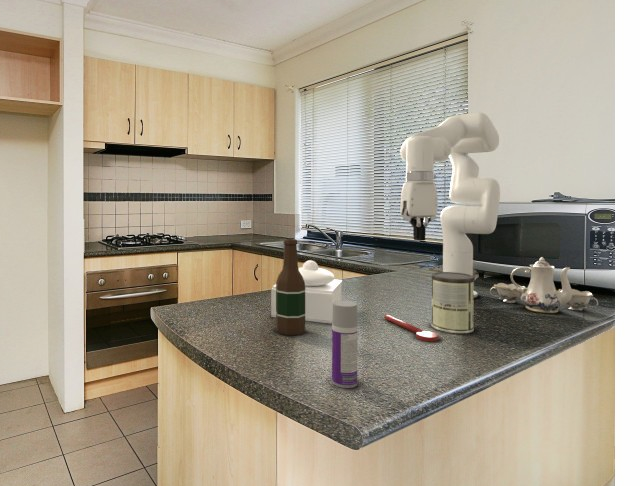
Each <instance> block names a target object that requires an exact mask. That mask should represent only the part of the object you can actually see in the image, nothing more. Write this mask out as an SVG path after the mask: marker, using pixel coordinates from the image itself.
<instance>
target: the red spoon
mask: <svg viewBox="0 0 640 486" xmlns="http://www.w3.org/2000/svg"><path fill="white" fill-rule="evenodd" d="M384 319H385V320H386V321H388V322H391V323H392V324H395V325H397V326H399V327H401V328H404V329H405V330H408V331H410V332H412V333H414V334H415V337H416V339H418V340H421V341H423V342H437V341H439V334H437V333H436V332H432V331H427V330H423V329H421V328H419V327H416V326H414V325H412V324H410V323H408V322H405V321H403V320H400V319H398V318H396V317H394V316H392V315H389V314H385V315H384Z"/></svg>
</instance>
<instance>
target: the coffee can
mask: <svg viewBox="0 0 640 486" xmlns="http://www.w3.org/2000/svg"><path fill="white" fill-rule="evenodd" d="M430 275H431V276H430V277H431V325H430V326H431V327H432V328H433V329H434V330H438V331H440V332H444V333H449V334H460V335H461V334H471V333H473V332H474V329H475V328H474V316H475V315H474V313H475V312H474V311H475V310H474V309H475V308H474V307H475V306H474V305H475V304H474V302H475V301H474V299H475V298H474V291H475V289H474V288H475V286H474V285H475V276H474V275H473V276H472V275H469V274H464V273H455V272H443V271H435V272H432V273H431V274H430Z"/></svg>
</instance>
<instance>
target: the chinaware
mask: <svg viewBox="0 0 640 486" xmlns="http://www.w3.org/2000/svg"><path fill="white" fill-rule="evenodd" d="M555 267H556V266H554V265H550V263H549V262H547V261H546V259H545V258H544V257H543V256H541V257H540V258H539V260H537V261H536V262H535V263H534V264H529V267H525V266H521V267H516V268H514V269H513V270H512V271H511V273H510V281H511V283H509V284H508V283H503V282H498V283H497V284H494V285H493V286H492V287H491V288H490V289H489V294H490V295H491V296H492V297H495V298H496V297H497V295H495V294H492V292H491V291H492V289H494V290H496V291H497V294H498V299H499V300H502V299H503V302H504V303H509V304H514V303H516V300H518V299H519V298H520V301H521V302H522V303H523V305H524V306H525V307H524V308H525V309H526V310H528V311H530V312H534V313H535V312H536V313H540V314H541V313H542V314H557V313H559V309H560V308H561V307H563V306H566V305H567V306H568V309H569V310H572V311H584V310H588V308H590V309H595V308H597V307H598V305H599V301H598V299H597V298H595V297H594V294H593V293H592V292H590V291H588V290H585V291H580V290H578V289H575V288H572V287H571V283H570V280H569V278H568V275H567V273H568V271H569V270H570V269H571V267H567V266H566V267H564V268H563V269H562V270H561V272H560V282H561V288H559V289H558V290H557V289H556V286H555V283H554V270H555ZM520 270H524V273H525V274H530V281H529V284H528V285H527V287H526V286H524V285H523V286H522V285H520V284H518V283H516V282H515V280H514V274H515V272H516V271H520ZM590 300H591V301H592V300H595V302H596V305H594V306H590V305H589V303H590ZM583 309H584V310H583Z"/></svg>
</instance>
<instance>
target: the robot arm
mask: <svg viewBox="0 0 640 486" xmlns="http://www.w3.org/2000/svg"><path fill="white" fill-rule="evenodd" d="M499 145H500V136H499V133H498V130H497V128H496V126H495V125H494V123H493V121H492V120H491V119H490V117H489V116H488V115H487V114H485V113H484V112H481V111H479V112H470V113H461V114H455V115H451V116H449V117H447V118H445V120H444V121H442V122H441V123H440V124H439V125H437V126H434V127H431V128H428V129H425V130H423V131H422V130H421V131H420V132H416V133H415V134H412V135H410V136H409V137H408V138H406V139H405V140H404V141H403V143H402V145H401V147H400V158H401V160H402V161H403V162H404V163H406V164H405V182H403V184H402V188H401V193H400V203H399V204H400V205H399V206H400V207H399V212H400V215H401V216H402V221H406V222H409V224H410V225H411V227H413V228H412V229H413V230H412V231H413V232H412V235H413V240H414V241H420V242H421V241H426V228H427V227H428V225H429V223H430V222H433V221H435V220H437V216H436V215H437V214H438V208H439V204H438V192H437V187H436V182H435V180H436V179H437V175H436V174H435V173H434V172H435V171H434V169H435V168H434V167H435V166H434V163H442V162H445V161H446V160H448V159H450V163H451V164H452V172H451V173H452V174H451V181H450V187H449V201H450V202H451V203H453V204H455V205H450V206H449V205H448V206H446V207H445V208H443V209H442V211H441V212H440V216H439V217H440V225H441V231H442V272H455V273H464V274H469V275H472V276H474V245H473V242H472V241H471V239H470V238H469V237H468V236H467V234H474V235H475V234H476V235H477V234H478V235H490V234H492V233H493V232H495V230H496V227H497V222H498V214H499V206H500V200H501V187H500V184H499V182H498V180H497V179H495V178H493V177H479V173H480V167H479V165H478V163H477V162H476V161H475V160H474V159H473V158H472V157H471V156H470V155H469V154H479V153H489V152H493V151H496V149H497V148H498V147H499ZM478 296H479V295H478V291H475V290H474V299H475V298H477V297H478Z"/></svg>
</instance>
